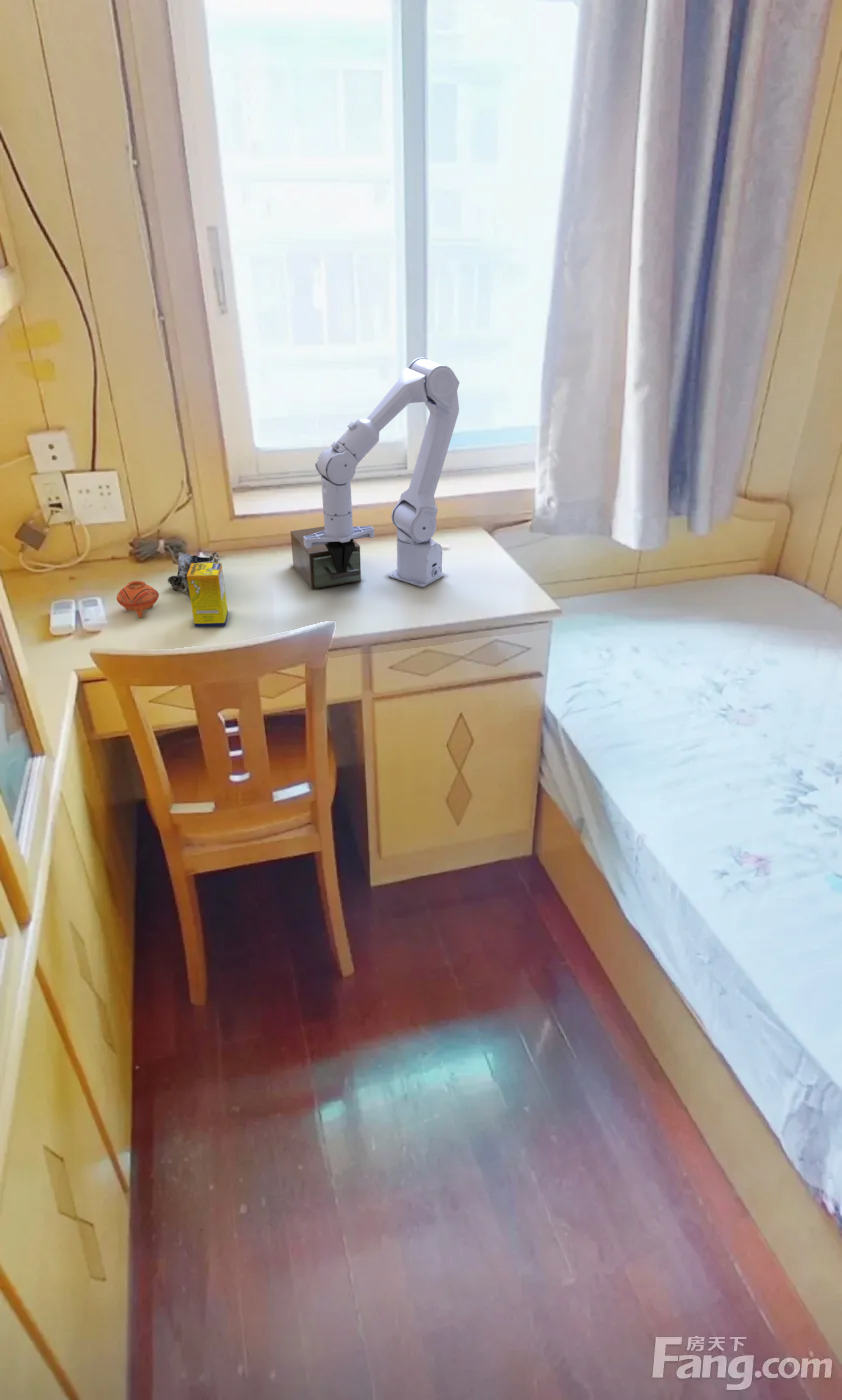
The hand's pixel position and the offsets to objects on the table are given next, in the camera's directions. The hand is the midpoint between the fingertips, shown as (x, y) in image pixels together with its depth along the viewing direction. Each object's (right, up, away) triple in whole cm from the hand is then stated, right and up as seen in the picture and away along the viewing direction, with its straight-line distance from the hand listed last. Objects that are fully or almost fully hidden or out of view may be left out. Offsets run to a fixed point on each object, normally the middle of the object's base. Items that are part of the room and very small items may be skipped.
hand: (341, 574), depth 173 cm
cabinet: (-4, +2, +10) cm, 11 cm away
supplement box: (-25, -11, -10) cm, 28 cm away
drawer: (-2, 0, +6) cm, 6 cm away
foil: (-30, -3, +3) cm, 30 cm away
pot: (-39, -9, -7) cm, 41 cm away
